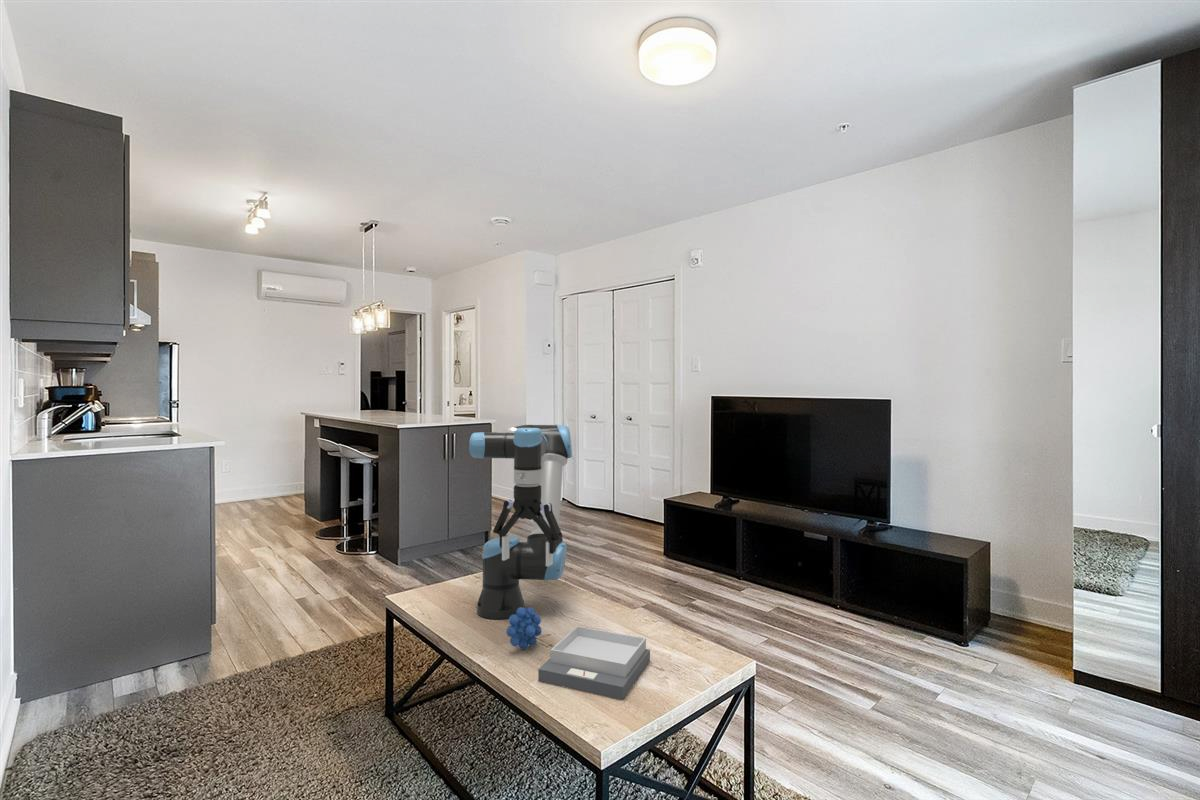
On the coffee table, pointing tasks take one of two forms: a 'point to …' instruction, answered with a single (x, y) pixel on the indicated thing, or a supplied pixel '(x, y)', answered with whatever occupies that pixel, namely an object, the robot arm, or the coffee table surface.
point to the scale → (596, 662)
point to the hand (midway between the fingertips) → (527, 562)
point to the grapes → (524, 628)
